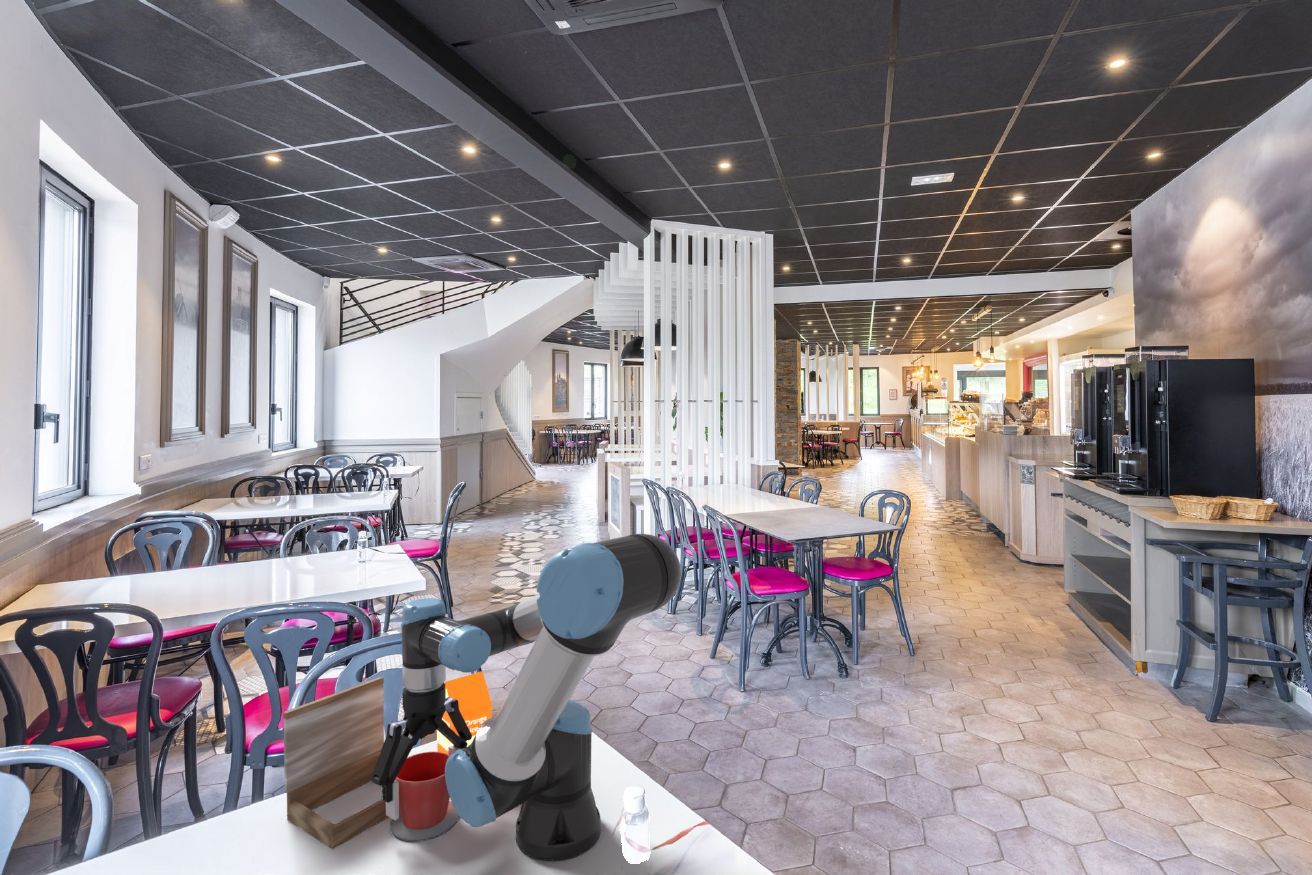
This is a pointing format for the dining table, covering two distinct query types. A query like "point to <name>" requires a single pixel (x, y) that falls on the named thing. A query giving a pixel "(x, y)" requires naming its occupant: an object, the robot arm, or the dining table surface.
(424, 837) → the slate saucer
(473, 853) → the dining table surface
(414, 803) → the flower pot
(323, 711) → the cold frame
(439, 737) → the orange juice
